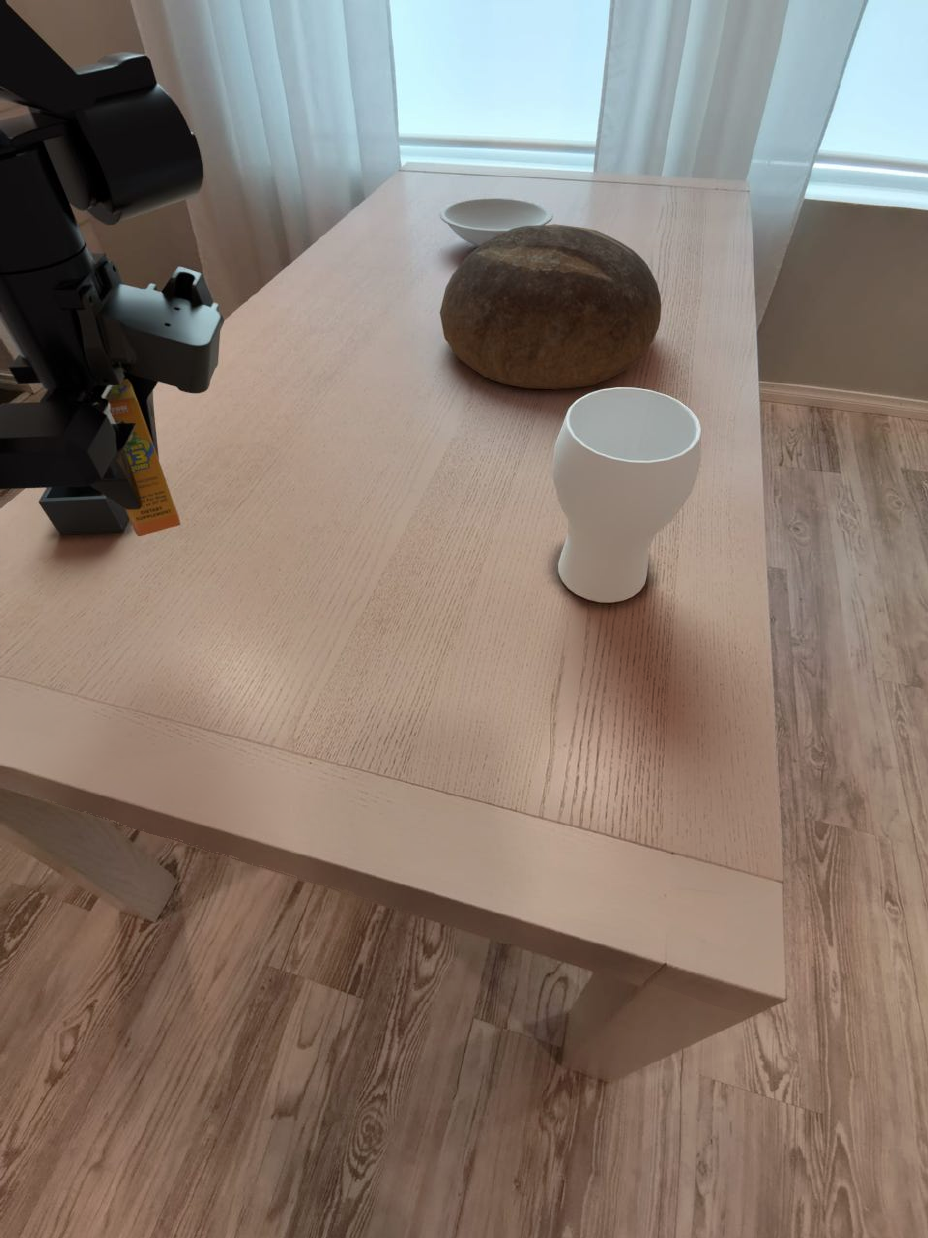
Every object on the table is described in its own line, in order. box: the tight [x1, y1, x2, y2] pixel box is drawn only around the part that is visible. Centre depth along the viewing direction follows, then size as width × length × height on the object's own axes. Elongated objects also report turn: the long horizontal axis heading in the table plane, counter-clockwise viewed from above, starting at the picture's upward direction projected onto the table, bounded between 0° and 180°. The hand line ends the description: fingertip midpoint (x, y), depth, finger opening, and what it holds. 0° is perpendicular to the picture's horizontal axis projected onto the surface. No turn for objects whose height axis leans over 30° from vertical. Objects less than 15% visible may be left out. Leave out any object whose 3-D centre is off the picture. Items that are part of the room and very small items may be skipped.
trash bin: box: [38, 486, 130, 536], centre depth 62 cm, size 6×6×4 cm
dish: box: [438, 196, 554, 247], centre depth 103 cm, size 18×14×5 cm
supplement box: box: [105, 379, 181, 537], centre depth 45 cm, size 3×3×10 cm
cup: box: [551, 386, 702, 604], centre depth 52 cm, size 11×11×15 cm
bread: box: [439, 223, 662, 390], centre depth 79 cm, size 26×27×13 cm
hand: (143, 487), depth 46 cm, fingers closed on supplement box, 4 cm apart
